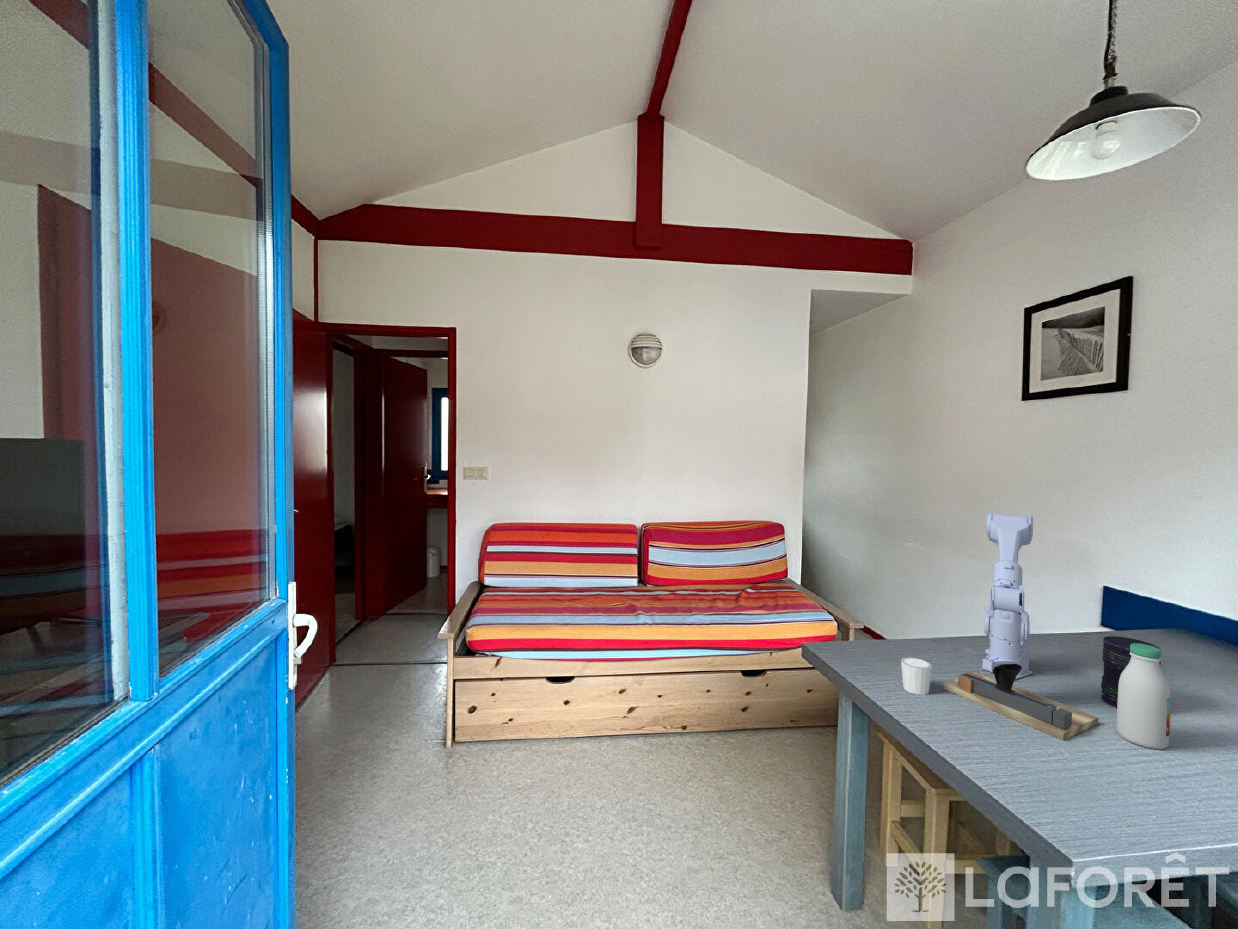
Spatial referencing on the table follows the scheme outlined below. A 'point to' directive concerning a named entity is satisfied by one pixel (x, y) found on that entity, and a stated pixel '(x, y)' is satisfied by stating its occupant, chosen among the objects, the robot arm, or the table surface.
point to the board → (1078, 717)
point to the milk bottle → (1144, 699)
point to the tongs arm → (1009, 690)
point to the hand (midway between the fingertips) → (1003, 692)
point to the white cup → (916, 675)
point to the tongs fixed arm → (1016, 702)
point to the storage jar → (1115, 665)
